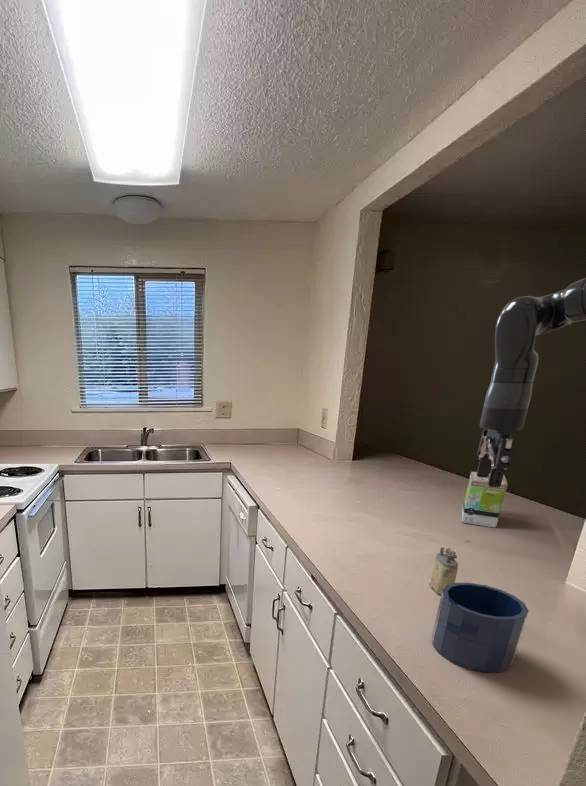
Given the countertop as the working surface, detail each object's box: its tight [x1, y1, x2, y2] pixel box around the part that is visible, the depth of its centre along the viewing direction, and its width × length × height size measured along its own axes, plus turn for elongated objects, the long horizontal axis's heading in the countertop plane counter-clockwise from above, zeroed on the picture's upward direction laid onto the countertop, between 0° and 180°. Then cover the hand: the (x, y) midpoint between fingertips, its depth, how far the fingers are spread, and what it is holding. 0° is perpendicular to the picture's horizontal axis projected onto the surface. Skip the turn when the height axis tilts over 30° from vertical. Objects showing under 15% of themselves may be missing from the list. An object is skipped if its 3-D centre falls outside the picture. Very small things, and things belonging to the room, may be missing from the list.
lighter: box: [429, 546, 459, 596], centre depth 102 cm, size 7×4×10 cm, turn 171°
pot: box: [431, 582, 530, 674], centre depth 80 cm, size 13×13×11 cm
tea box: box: [461, 471, 509, 528], centre depth 145 cm, size 15×10×15 cm
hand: (487, 481), depth 95 cm, fingers open, 8 cm apart
